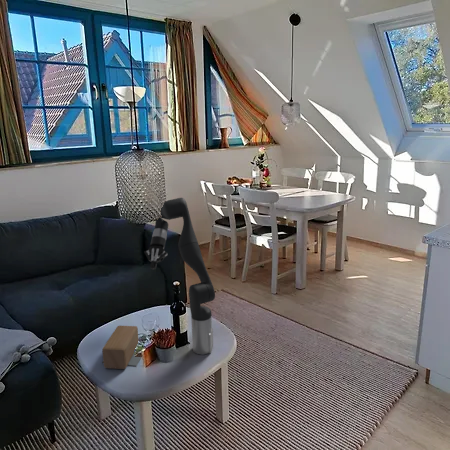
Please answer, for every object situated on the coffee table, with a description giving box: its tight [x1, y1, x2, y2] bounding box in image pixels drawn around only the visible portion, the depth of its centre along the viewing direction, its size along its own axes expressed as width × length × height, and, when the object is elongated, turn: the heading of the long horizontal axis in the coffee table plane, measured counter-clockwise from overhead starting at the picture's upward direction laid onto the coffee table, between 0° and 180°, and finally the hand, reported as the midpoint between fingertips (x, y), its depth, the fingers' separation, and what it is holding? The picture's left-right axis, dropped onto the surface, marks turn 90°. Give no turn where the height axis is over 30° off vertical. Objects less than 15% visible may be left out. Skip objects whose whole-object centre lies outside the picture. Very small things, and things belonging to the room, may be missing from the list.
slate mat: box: [101, 354, 142, 367], centre depth 183 cm, size 16×14×1 cm
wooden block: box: [101, 325, 140, 370], centre depth 180 cm, size 10×10×20 cm
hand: (152, 268), depth 204 cm, fingers closed
